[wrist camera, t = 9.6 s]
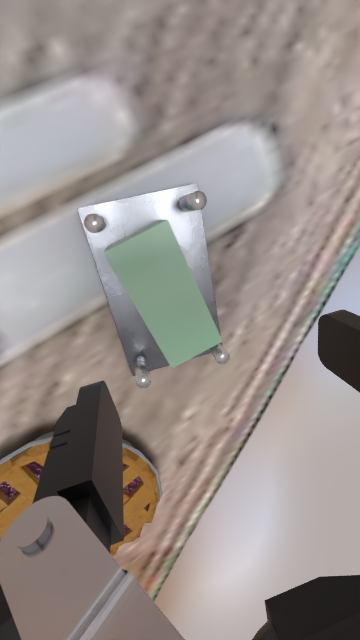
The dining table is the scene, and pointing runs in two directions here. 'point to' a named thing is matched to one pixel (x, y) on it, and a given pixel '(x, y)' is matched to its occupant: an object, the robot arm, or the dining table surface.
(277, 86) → the dining table surface
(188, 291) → the board
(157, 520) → the dining table surface
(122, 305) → the chassis
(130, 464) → the pie
